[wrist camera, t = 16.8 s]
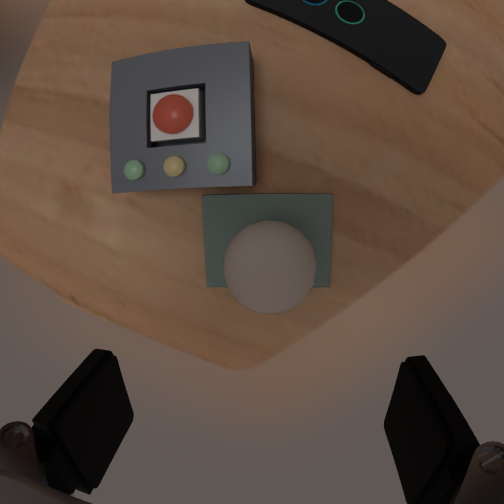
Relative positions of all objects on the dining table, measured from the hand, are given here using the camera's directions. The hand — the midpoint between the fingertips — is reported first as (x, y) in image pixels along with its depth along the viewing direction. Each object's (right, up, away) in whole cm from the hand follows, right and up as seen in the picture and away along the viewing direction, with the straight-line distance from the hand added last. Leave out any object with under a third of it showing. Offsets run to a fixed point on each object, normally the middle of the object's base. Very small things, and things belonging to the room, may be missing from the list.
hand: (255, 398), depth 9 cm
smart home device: (+10, +28, +15) cm, 33 cm away
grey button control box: (-6, +17, +19) cm, 26 cm away
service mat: (+1, +6, +21) cm, 22 cm away
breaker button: (-6, +16, +16) cm, 24 cm away
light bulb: (+2, +6, +21) cm, 21 cm away
